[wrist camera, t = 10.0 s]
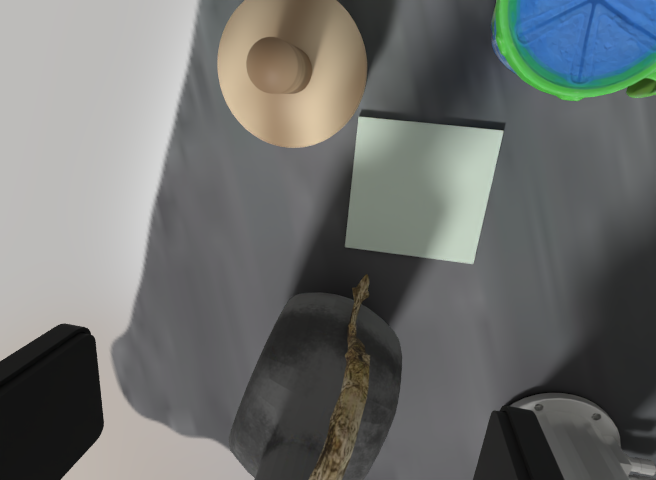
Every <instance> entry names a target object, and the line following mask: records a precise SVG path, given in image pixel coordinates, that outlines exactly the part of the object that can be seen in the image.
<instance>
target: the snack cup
mask: <svg viewBox="0 0 656 480" xmlns="http://www.w3.org/2000/svg"><path fill="white" fill-rule="evenodd" d="M491 39H492V47H493V50H494V52H495V54H496V55H497V57H498V58H499V60H500V61H501V62H502V63H503V64H504V65H505V66H506V67H507V68H508V69H510V70H511V71H512V72H514V73H515V74H517V75H518V76H519V77H520V78H521V79H522V80H523V81H525V82H526V83H528V84H529V85H531V86H533V87H534V88H536V89H538V90H540V91H542V92H545V93H549V94H552V95H556V96H557V97H558V98H560V99H562V100H570V101H579V100H581V99H583V98H585V97H594V96H600V95H605V94H609V93H613V92H616V91H619V90H621V89H624V88H626V87H628V88H627V91H626V93H627V95H628V96H630V97H633V98H642V97H647V96H652V95H656V0H496V6H495V8H494V11H493V16H492V20H491Z"/></svg>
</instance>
